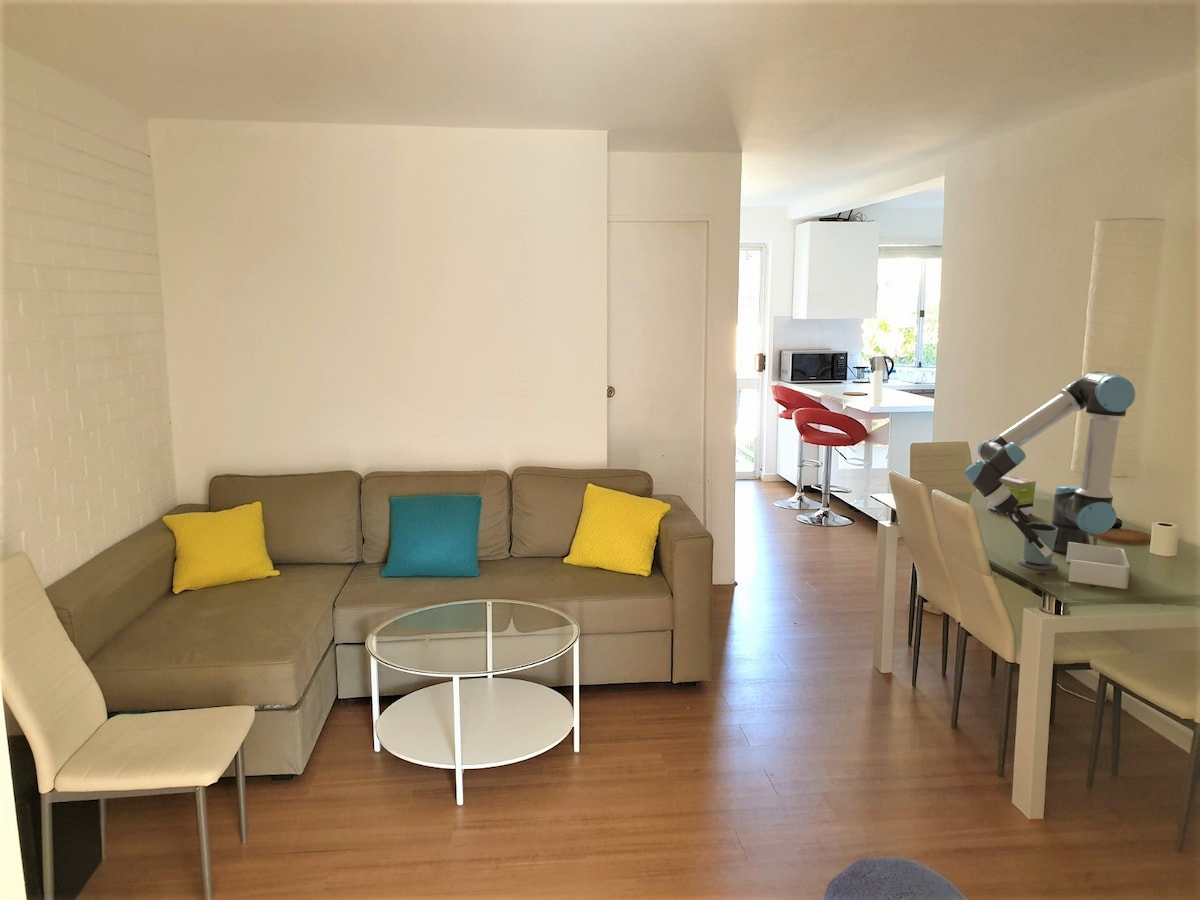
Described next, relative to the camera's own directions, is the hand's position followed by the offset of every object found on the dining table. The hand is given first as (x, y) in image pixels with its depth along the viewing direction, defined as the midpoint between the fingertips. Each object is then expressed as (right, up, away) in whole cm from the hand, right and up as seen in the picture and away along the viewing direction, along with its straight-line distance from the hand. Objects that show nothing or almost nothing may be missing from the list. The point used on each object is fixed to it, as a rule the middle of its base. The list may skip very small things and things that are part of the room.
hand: (1048, 550), depth 297 cm
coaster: (-3, -5, +2) cm, 6 cm away
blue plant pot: (-3, -4, +2) cm, 5 cm away
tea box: (+20, +8, +72) cm, 75 cm away
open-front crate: (+11, -7, -8) cm, 15 cm away
